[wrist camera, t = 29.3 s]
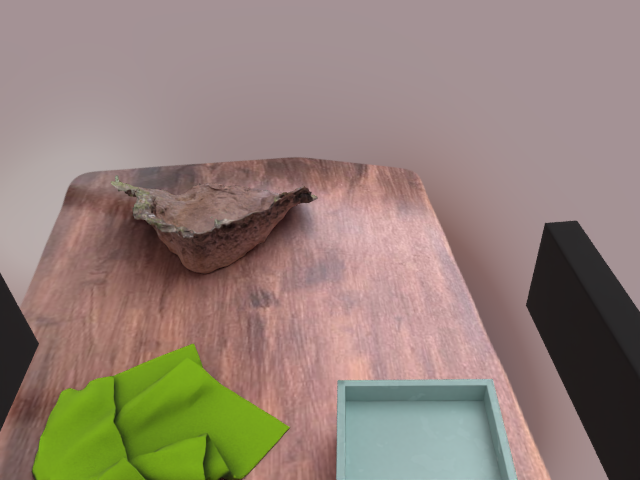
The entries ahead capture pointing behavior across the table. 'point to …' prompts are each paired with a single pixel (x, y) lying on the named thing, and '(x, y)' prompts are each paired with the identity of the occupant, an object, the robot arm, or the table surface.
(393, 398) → the teal and tan box
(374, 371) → the table surface
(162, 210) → the rock
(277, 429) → the cloth
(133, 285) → the table surface
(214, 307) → the table surface
